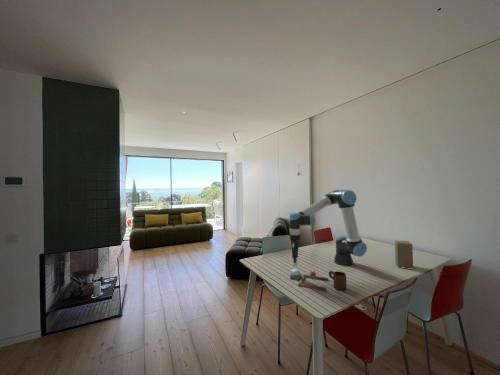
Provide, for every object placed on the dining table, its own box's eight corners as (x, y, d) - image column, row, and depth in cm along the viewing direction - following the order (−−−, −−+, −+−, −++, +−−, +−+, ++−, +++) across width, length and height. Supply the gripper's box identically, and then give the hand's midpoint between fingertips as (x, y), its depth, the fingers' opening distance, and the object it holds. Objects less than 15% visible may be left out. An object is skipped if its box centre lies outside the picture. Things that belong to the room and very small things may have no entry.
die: (310, 275, 152) (309, 269, 152) (314, 275, 151) (314, 269, 151) (310, 277, 148) (310, 271, 148) (315, 277, 148) (315, 271, 148)
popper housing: (292, 274, 153) (292, 272, 153) (301, 276, 150) (301, 273, 150) (289, 278, 146) (289, 275, 147) (299, 280, 143) (299, 277, 144)
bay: (303, 276, 150) (303, 274, 150) (328, 280, 143) (328, 278, 143) (298, 285, 135) (298, 283, 135) (326, 290, 127) (326, 288, 127)
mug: (325, 285, 135) (325, 270, 136) (332, 282, 139) (332, 268, 140) (341, 292, 125) (341, 277, 125) (349, 289, 129) (348, 274, 129)
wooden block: (395, 263, 172) (394, 240, 173) (410, 265, 168) (409, 241, 168) (397, 267, 163) (397, 242, 164) (413, 269, 159) (412, 244, 159)
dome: (292, 272, 152) (292, 268, 152) (300, 273, 150) (300, 269, 150) (290, 275, 147) (290, 271, 147) (299, 276, 144) (298, 272, 144)
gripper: (292, 232, 156) (292, 262, 156) (287, 235, 145) (287, 268, 144) (301, 233, 153) (302, 264, 152) (298, 236, 141) (298, 270, 141)
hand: (295, 266), depth 148 cm, fingers closed
